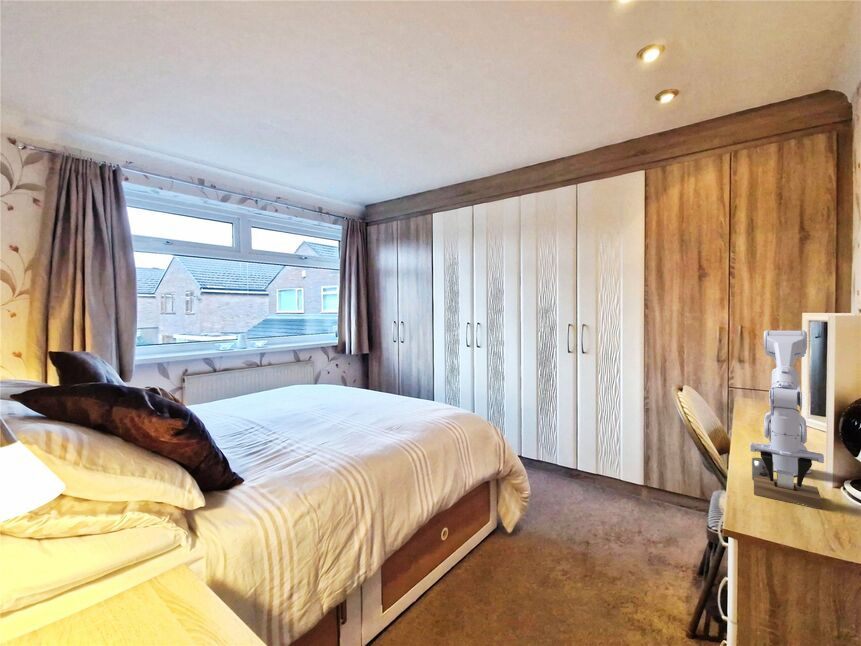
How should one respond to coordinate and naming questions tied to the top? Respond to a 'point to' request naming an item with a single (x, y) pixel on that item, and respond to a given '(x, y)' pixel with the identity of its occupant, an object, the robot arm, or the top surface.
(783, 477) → the square bit
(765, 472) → the round bit
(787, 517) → the top surface
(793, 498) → the bore block
